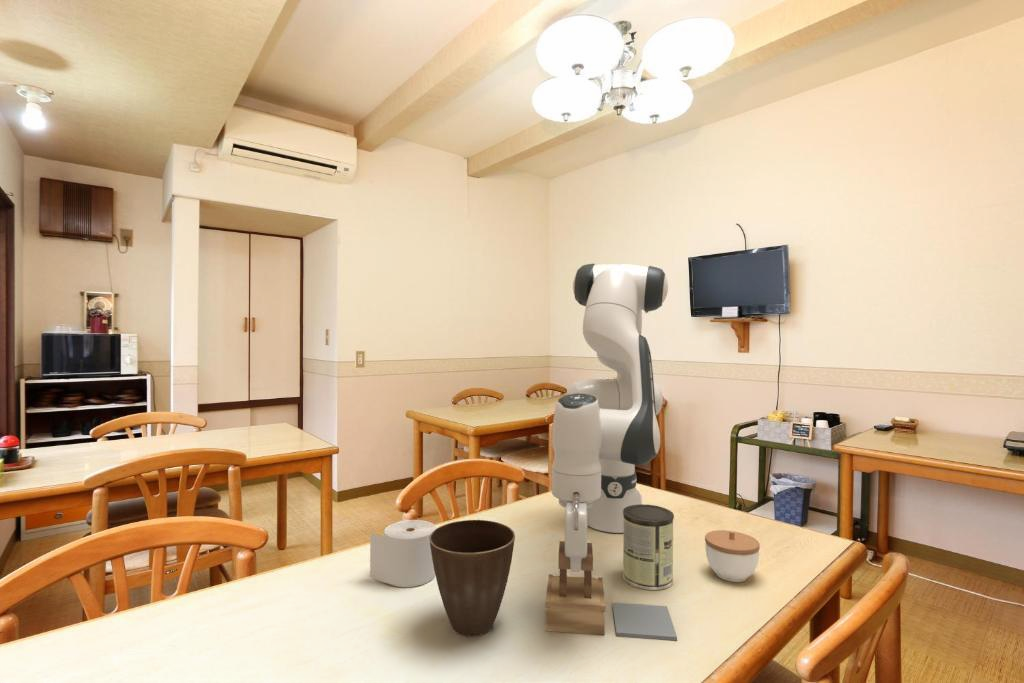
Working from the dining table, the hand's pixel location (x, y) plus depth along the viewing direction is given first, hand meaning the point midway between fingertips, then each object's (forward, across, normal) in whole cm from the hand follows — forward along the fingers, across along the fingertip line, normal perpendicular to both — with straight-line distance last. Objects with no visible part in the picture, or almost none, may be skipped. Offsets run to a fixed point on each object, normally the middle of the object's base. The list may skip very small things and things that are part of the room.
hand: (575, 561), depth 95 cm
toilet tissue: (+10, +11, +35) cm, 38 cm away
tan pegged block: (+5, 0, 0) cm, 5 cm away
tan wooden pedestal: (+10, 0, 0) cm, 10 cm away
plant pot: (+10, -5, +18) cm, 21 cm away
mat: (+10, 0, -12) cm, 16 cm away
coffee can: (+10, +17, -15) cm, 25 cm away
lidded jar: (+10, +21, -33) cm, 40 cm away
